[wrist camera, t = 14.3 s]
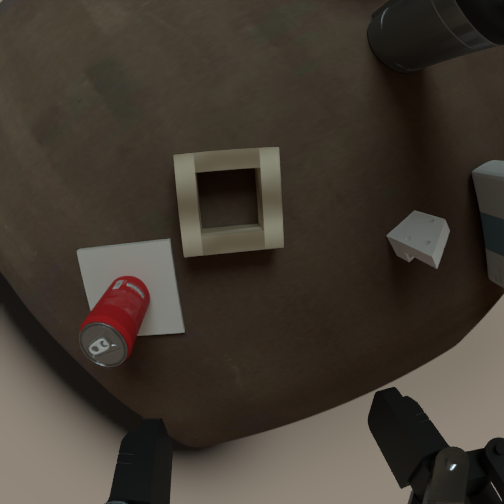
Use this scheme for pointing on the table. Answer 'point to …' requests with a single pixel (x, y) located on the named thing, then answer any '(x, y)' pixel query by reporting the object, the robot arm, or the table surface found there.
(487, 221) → the stereo radio cassette player
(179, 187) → the collar
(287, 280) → the table surface
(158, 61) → the table surface
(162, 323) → the pad
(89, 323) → the beverage can
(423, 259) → the white wedge bracket
